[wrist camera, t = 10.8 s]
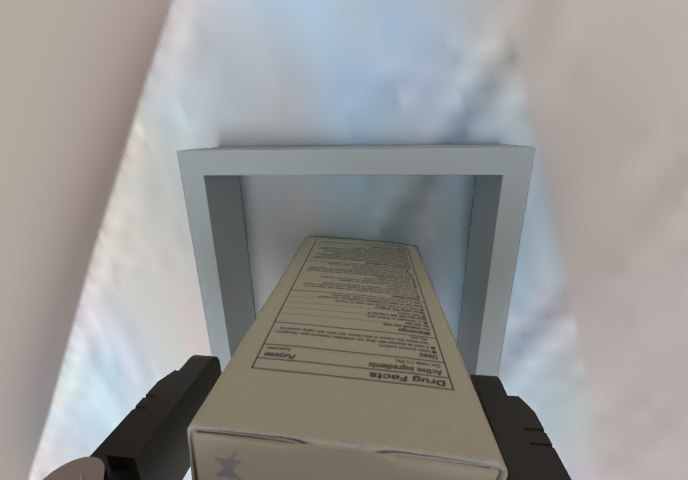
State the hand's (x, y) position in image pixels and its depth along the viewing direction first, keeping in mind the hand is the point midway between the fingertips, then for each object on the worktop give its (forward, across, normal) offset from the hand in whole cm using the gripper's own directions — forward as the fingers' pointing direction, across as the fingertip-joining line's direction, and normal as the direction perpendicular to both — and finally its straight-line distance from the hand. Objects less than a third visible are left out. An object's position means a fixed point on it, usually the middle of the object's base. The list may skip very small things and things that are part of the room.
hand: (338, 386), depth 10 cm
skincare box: (+8, 0, 0) cm, 9 cm away
